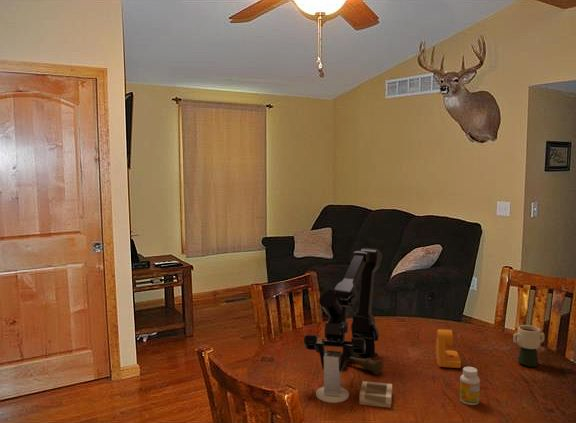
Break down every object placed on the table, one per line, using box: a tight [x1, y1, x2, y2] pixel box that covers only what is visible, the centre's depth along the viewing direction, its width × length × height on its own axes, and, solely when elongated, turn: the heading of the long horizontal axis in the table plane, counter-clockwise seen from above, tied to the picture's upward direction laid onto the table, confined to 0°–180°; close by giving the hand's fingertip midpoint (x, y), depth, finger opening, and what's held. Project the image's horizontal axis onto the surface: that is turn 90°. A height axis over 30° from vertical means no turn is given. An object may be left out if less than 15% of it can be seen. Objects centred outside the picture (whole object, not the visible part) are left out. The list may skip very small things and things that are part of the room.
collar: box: [359, 380, 393, 408], centre depth 142 cm, size 9×9×3 cm
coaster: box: [315, 386, 350, 404], centre depth 145 cm, size 10×10×1 cm
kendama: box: [340, 351, 383, 376], centre depth 166 cm, size 6×10×20 cm
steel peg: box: [323, 350, 342, 396], centre depth 145 cm, size 4×4×12 cm
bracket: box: [435, 328, 462, 369], centre depth 167 cm, size 11×7×12 cm, turn 169°
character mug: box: [512, 324, 545, 368], centre depth 165 cm, size 11×7×13 cm, turn 92°
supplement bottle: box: [459, 366, 481, 406], centre depth 140 cm, size 5×5×10 cm
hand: (331, 370), depth 143 cm, fingers open, 5 cm apart
